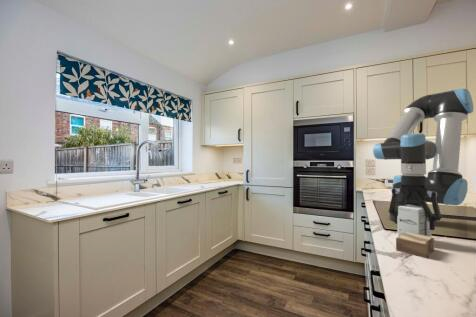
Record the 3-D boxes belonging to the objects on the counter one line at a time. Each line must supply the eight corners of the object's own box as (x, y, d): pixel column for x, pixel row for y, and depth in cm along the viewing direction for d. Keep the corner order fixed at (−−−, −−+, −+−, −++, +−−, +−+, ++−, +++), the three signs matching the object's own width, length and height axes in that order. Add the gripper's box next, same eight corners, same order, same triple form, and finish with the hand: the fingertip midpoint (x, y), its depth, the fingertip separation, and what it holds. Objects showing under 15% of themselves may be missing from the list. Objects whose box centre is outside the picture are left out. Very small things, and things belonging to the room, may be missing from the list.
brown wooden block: (405, 243, 83) (405, 231, 83) (434, 250, 77) (434, 237, 77) (396, 250, 77) (396, 237, 77) (426, 258, 71) (426, 244, 71)
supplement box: (397, 238, 88) (396, 205, 88) (409, 236, 91) (408, 204, 91) (419, 245, 82) (418, 209, 82) (431, 242, 84) (430, 207, 85)
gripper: (378, 174, 92) (378, 230, 92) (448, 177, 76) (449, 245, 76) (385, 173, 97) (385, 227, 97) (453, 175, 81) (453, 240, 81)
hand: (413, 235), depth 86 cm, fingers closed on supplement box, 8 cm apart
